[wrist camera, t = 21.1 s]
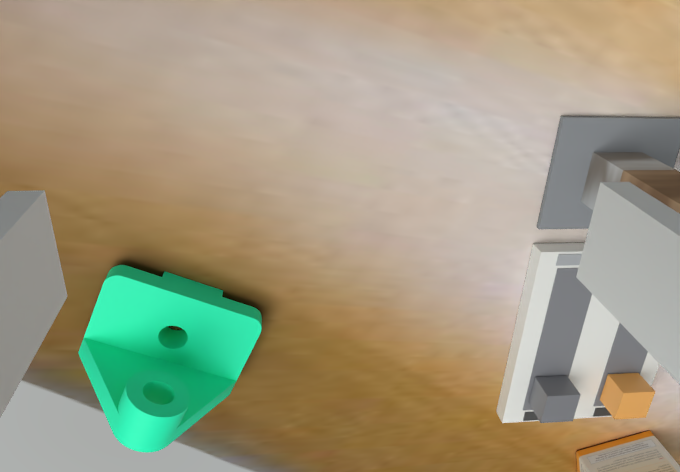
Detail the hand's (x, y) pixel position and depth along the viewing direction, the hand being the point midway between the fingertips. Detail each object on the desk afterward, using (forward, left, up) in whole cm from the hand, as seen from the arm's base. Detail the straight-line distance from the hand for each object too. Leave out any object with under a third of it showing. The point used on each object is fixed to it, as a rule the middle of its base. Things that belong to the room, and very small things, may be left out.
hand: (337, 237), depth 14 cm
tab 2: (+28, +30, -25) cm, 48 cm away
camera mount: (+20, -9, -27) cm, 35 cm away
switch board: (+23, +27, -27) cm, 44 cm away
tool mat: (+8, +25, -27) cm, 37 cm away
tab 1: (+28, +23, -25) cm, 44 cm away
